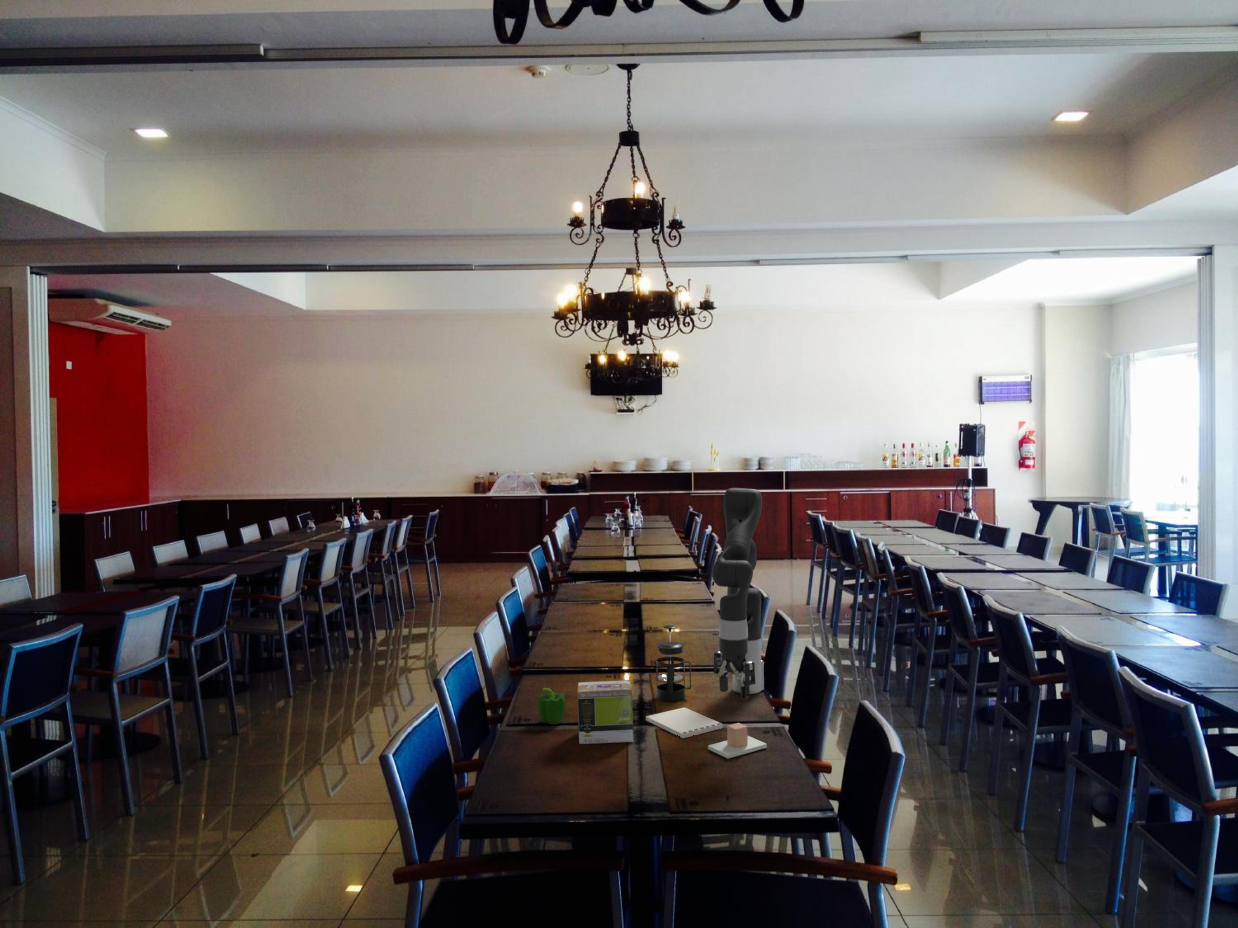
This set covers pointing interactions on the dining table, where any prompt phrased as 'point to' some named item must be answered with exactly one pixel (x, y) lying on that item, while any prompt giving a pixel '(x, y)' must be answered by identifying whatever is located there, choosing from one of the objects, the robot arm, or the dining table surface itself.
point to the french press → (671, 671)
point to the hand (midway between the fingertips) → (734, 695)
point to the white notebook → (684, 722)
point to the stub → (737, 742)
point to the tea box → (605, 712)
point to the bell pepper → (551, 707)
